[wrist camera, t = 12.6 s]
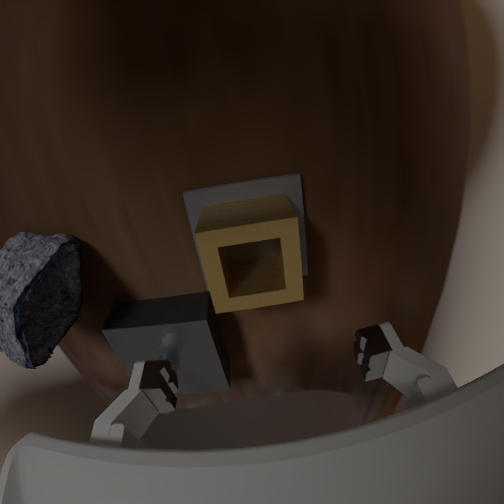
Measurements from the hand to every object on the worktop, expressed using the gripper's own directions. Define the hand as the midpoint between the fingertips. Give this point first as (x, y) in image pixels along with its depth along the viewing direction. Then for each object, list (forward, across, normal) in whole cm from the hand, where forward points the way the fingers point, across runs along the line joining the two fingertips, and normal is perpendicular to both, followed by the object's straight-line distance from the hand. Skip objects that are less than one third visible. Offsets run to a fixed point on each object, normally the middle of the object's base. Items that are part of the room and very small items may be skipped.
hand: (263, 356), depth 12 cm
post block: (+14, +9, +11) cm, 20 cm away
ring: (+13, 0, +1) cm, 13 cm away
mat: (+14, 0, +1) cm, 14 cm away
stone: (+14, +20, +1) cm, 25 cm away
